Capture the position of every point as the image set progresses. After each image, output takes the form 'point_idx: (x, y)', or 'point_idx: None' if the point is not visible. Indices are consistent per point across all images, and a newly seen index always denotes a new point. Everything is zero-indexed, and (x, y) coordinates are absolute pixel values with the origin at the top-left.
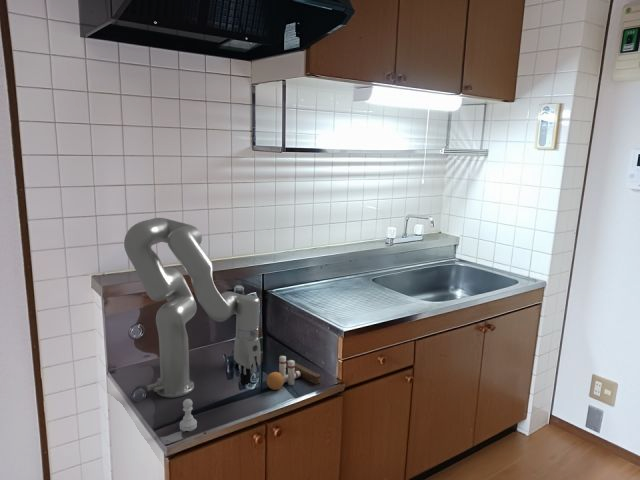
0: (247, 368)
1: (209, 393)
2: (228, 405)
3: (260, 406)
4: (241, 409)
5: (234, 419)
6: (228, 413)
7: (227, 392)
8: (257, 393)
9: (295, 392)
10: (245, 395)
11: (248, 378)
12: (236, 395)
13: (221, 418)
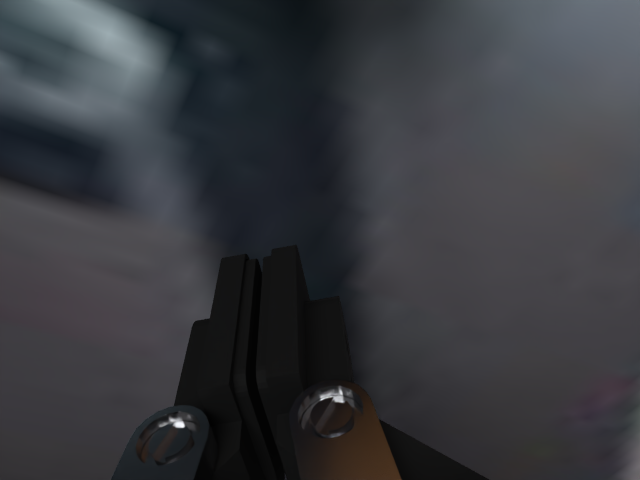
0: (205, 461)
1: (102, 441)
2: (393, 391)
3: (623, 170)
4: (531, 334)
5: (628, 417)
6: (514, 424)
7: (139, 330)
8: (315, 66)
9: None
10: (290, 211)
11: (348, 358)
12: None
13: (542, 471)
